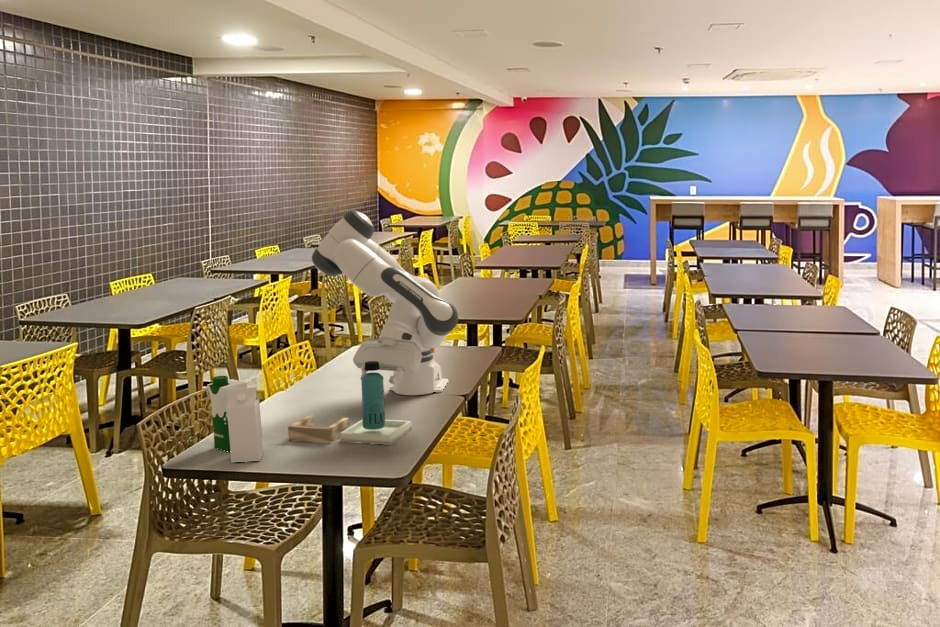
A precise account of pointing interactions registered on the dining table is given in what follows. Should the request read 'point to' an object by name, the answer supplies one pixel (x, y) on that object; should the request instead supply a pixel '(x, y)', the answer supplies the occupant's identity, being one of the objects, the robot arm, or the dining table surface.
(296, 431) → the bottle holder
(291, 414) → the dining table surface
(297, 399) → the dining table surface
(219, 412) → the soya milk
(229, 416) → the milk carton
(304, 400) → the dining table surface
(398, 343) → the robot arm
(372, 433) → the tray
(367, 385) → the beverage bottle
